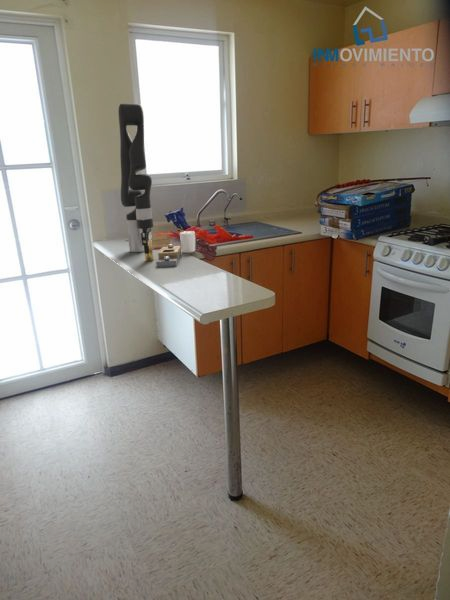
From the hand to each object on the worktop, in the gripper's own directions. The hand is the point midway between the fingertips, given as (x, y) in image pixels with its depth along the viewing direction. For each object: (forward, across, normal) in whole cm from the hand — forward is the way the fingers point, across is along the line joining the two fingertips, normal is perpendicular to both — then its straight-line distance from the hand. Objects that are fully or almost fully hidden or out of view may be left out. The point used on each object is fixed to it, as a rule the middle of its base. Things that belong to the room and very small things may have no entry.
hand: (148, 251), depth 210 cm
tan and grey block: (+4, +4, +10) cm, 12 cm away
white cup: (+5, -16, +18) cm, 25 cm away
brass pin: (+4, 0, 0) cm, 4 cm away
